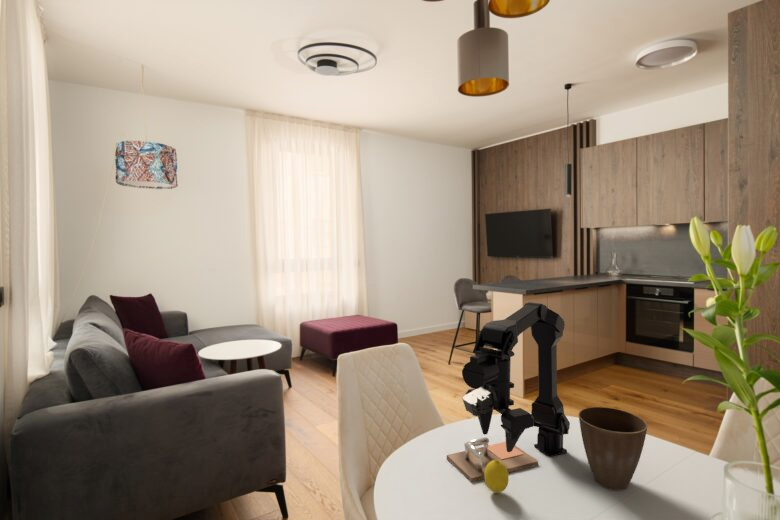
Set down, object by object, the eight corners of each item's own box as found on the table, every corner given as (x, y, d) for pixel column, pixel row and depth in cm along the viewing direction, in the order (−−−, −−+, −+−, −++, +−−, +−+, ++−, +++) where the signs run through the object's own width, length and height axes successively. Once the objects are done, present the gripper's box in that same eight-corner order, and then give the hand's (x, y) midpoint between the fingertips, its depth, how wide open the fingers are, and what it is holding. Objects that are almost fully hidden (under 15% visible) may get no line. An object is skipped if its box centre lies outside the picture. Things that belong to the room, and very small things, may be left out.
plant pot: (619, 507, 94) (621, 438, 93) (564, 474, 107) (565, 413, 107) (658, 489, 101) (661, 424, 100) (602, 460, 114) (604, 402, 113)
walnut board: (509, 444, 123) (509, 441, 123) (538, 464, 112) (538, 461, 112) (446, 458, 115) (446, 455, 115) (471, 482, 104) (471, 478, 104)
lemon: (509, 501, 96) (509, 467, 96) (484, 498, 97) (484, 464, 97) (507, 487, 102) (507, 455, 101) (484, 484, 103) (484, 453, 102)
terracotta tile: (506, 442, 122) (506, 441, 122) (523, 454, 115) (523, 453, 115) (484, 447, 119) (484, 446, 119) (501, 460, 112) (501, 459, 112)
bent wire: (486, 452, 116) (486, 436, 116) (503, 466, 109) (504, 448, 109) (463, 458, 113) (463, 441, 113) (479, 472, 106) (479, 454, 106)
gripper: (447, 370, 104) (446, 431, 105) (493, 396, 87) (492, 469, 87) (485, 364, 108) (484, 424, 109) (536, 388, 91) (534, 459, 92)
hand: (496, 442), depth 99 cm, fingers open, 9 cm apart
